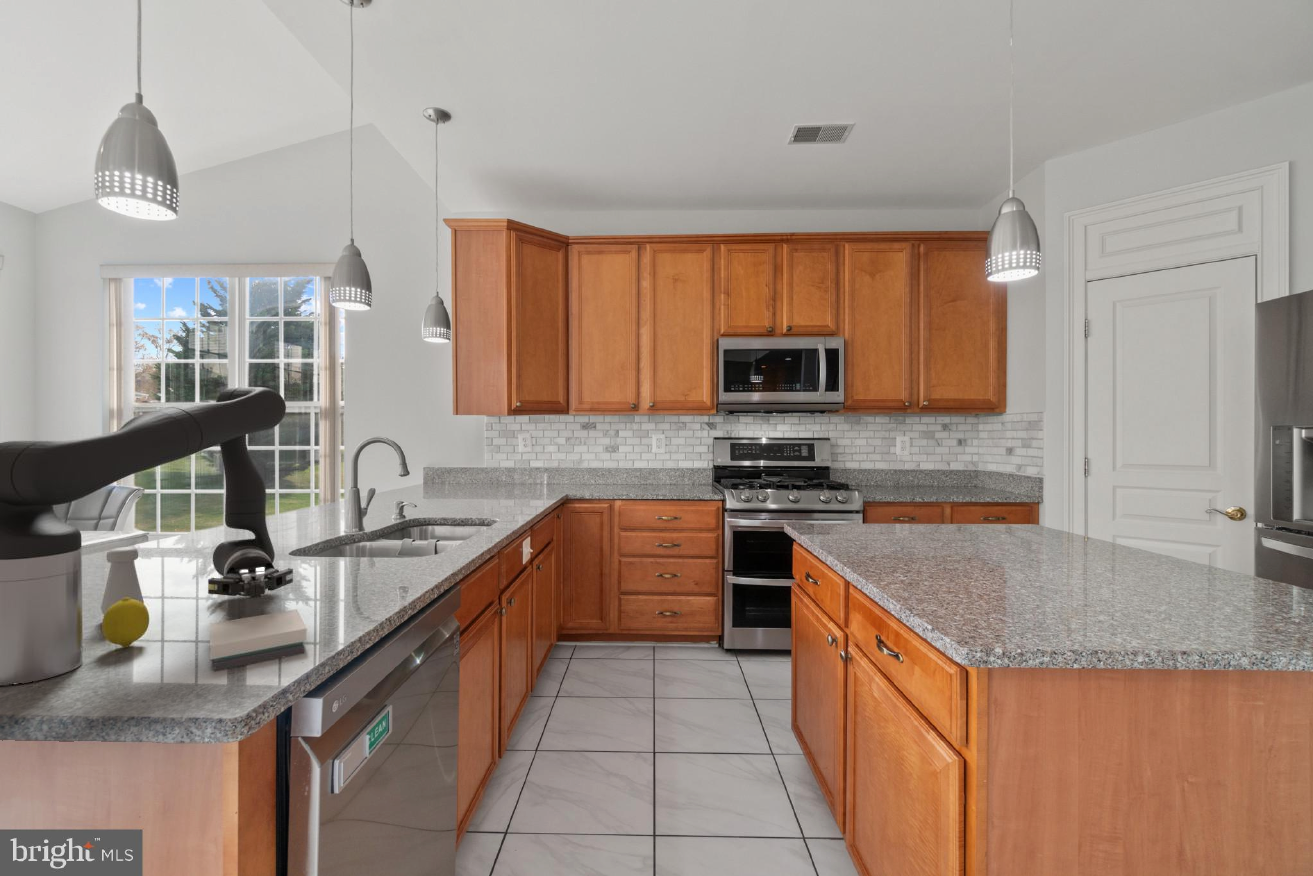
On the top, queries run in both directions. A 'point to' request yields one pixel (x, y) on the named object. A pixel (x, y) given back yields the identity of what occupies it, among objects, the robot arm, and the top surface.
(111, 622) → the lemon
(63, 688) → the top surface
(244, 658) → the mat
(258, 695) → the top surface
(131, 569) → the salt shaker
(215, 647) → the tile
